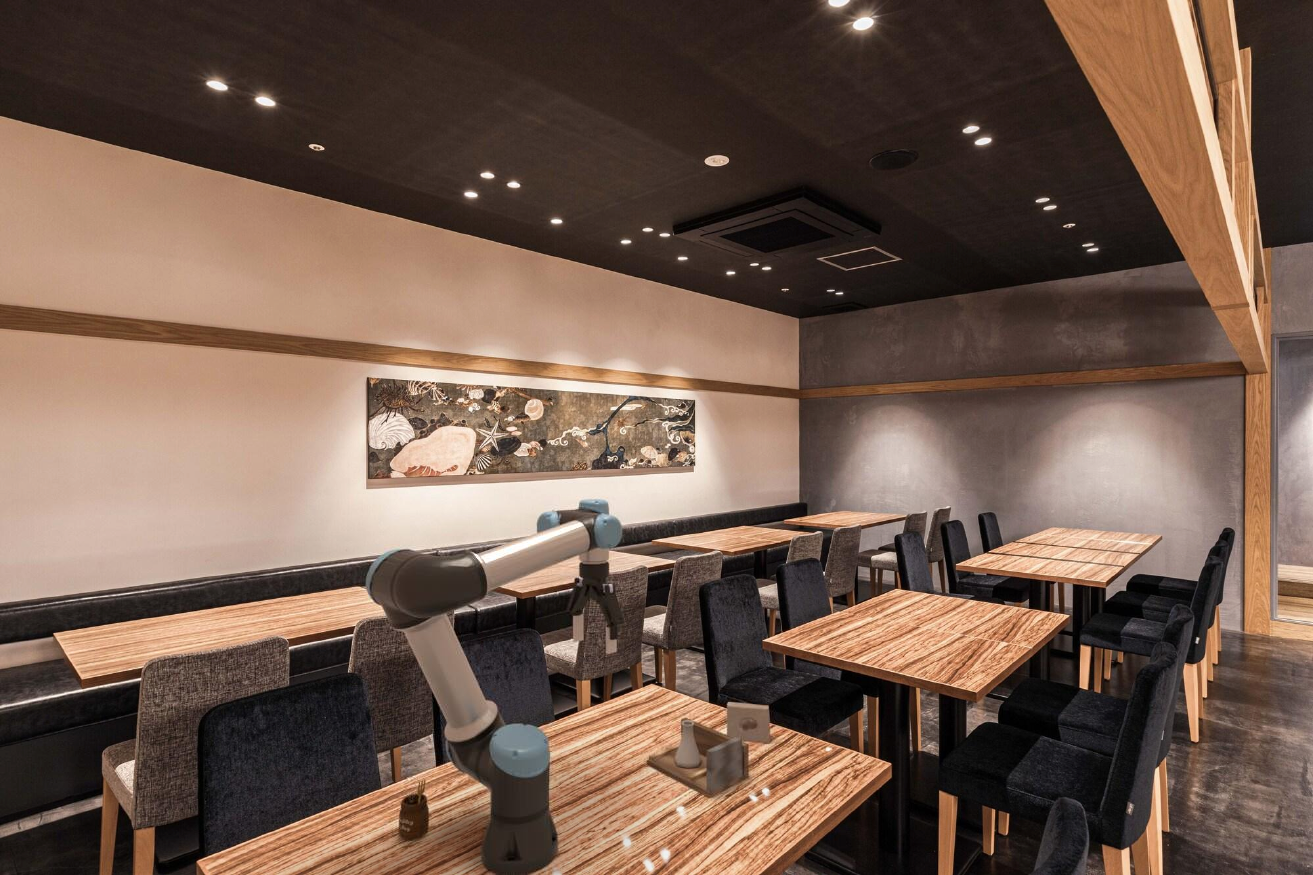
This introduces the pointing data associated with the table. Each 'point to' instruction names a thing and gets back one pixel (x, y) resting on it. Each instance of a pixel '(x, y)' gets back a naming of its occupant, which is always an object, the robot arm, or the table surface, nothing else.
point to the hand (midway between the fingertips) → (594, 646)
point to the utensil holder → (414, 814)
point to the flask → (687, 748)
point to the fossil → (748, 722)
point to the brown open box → (707, 761)
